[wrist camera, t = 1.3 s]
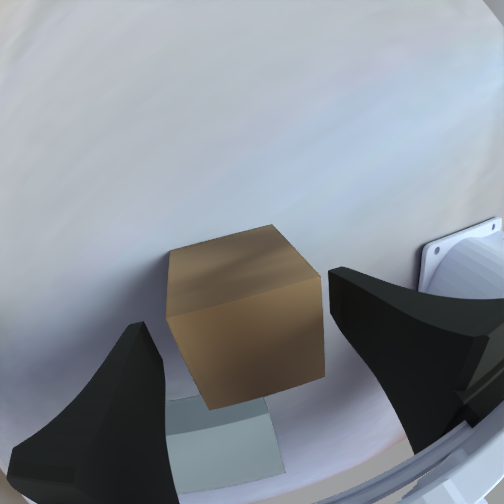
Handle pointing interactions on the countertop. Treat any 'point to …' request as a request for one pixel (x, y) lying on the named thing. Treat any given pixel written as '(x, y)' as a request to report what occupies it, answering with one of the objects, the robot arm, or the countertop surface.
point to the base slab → (220, 444)
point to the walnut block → (246, 316)
